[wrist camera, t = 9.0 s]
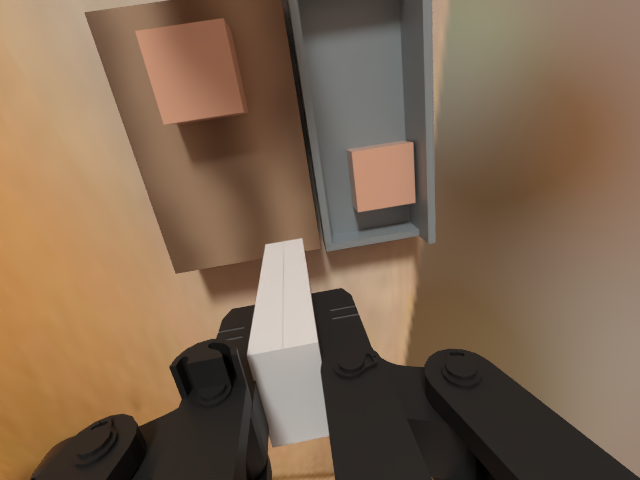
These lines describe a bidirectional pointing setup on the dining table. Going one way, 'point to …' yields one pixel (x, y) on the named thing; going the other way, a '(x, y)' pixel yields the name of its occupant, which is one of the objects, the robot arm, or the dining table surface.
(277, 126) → the brown flat block
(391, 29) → the tray
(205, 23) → the tile
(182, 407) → the robot arm
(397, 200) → the tile
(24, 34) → the dining table surface
